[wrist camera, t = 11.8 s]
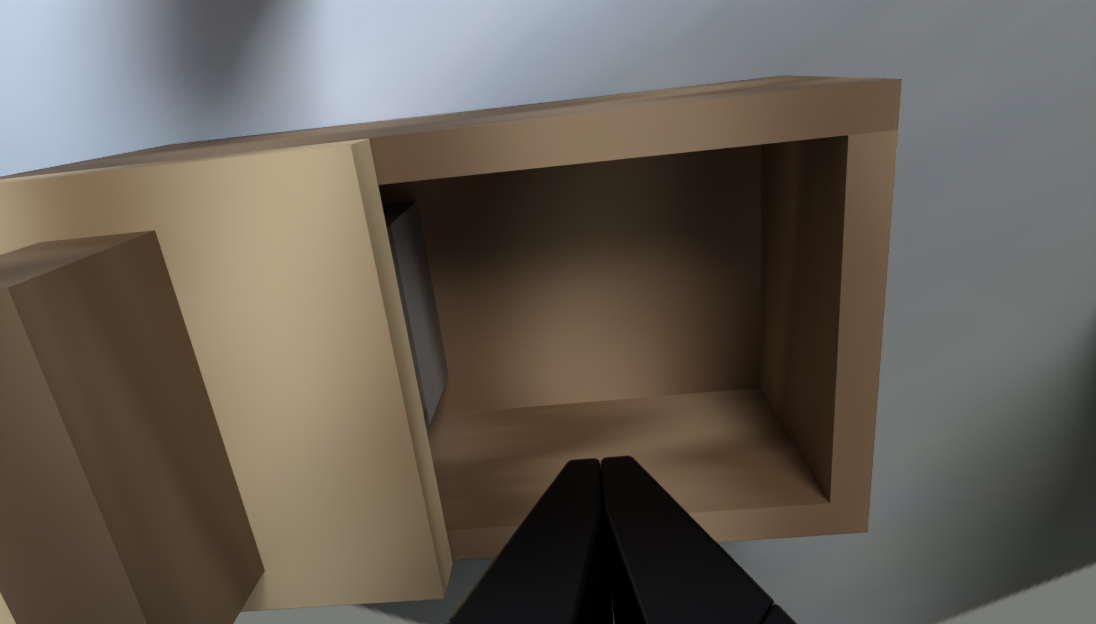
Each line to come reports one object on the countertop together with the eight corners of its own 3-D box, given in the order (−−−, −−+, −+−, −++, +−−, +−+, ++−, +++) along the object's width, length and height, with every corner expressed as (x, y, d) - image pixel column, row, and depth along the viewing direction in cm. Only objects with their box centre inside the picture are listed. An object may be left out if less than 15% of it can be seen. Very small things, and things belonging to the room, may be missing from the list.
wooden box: (785, 75, 16) (901, 78, 11) (779, 397, 19) (867, 532, 14) (169, 144, 17) (-25, 181, 12) (257, 439, 20) (139, 581, 15)
